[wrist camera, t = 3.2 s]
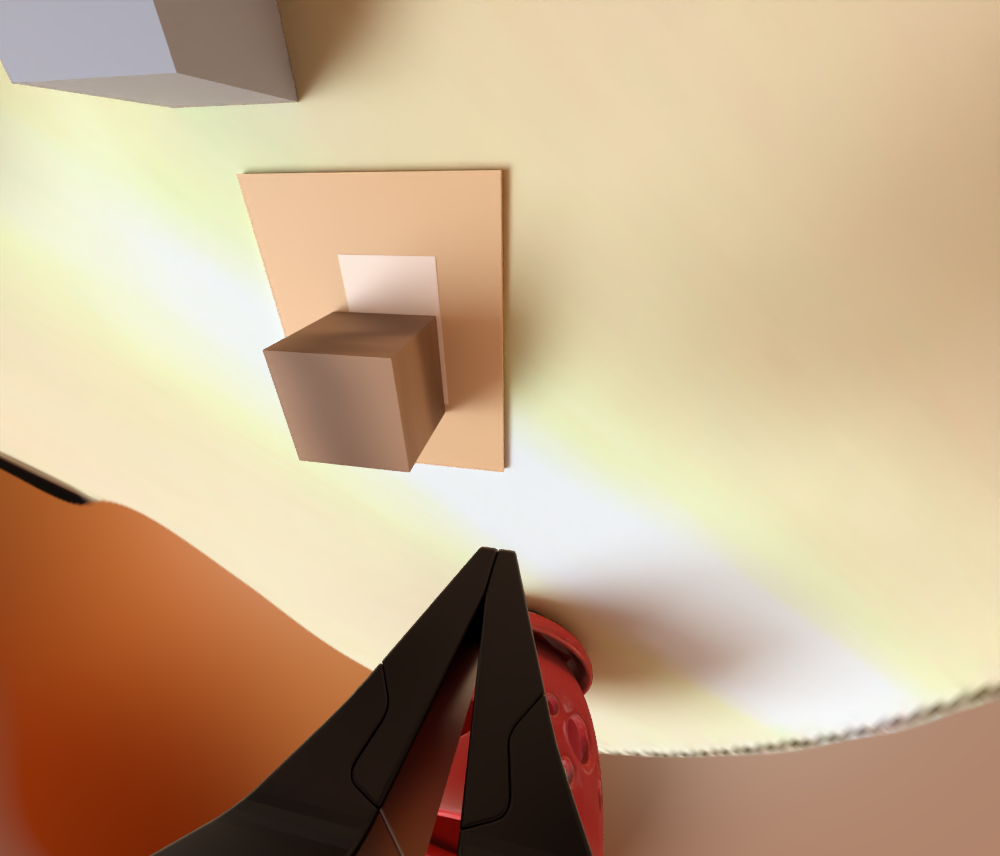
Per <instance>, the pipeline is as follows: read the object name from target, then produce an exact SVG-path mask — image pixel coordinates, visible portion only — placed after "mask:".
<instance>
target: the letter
mask: <svg viewBox="0 0 1000 856" xmlns="http://www.w3.org/2000/svg"><path fill="white" fill-rule="evenodd" d="M237 177H238V180H239V184H240V187H241V191H242V194H243V197H244V201H245V204H246V207H247V211H248V214H249V217H250V221H251V224H252V227H253V231H254V234H255V237H256V241H257V244H258V247H259V251H260V254H261V257H262V261H263V264H264V267H265V271H266V274H267V277H268V281H269V284H270V287H271V291H272V294H273V297H274V301H275V304H276V307H277V311H278V314H279V317H280V321H281V324H282V327H283V331H284V334H285V337H288V336H290V335H291V334H293V333H295V332H297V331H299V330H301V329H302V328H304V327H306V326H308V325H310V324H312V323H313V322H315V321H317V320H319V319H321V318H323V317H324V316H326V315H328V314H330V313H332V312H334V311H336V312H358V313H381V314H403V315H426V316H436V321H437V332H438V342H439V353H440V363H441V374H442V384H443V395H444V405H445V414H444V416H443V417H442V419H441V421H440V422H439V424H438V426H437V427H436V429H435V431H434V432H433V434H432V436H431V437H430V439H429V441H428V442H427V444H426V446H425V447H424V449H423V451H422V452H421V454H420V456H419V457H418V459H417V461H416V462H415V463H421V464H430V465H440V466H449V467H459V468H468V469H478V470H487V471H497V472H504V363H503V231H502V170H470V171H403V172H336V173H269V174H237Z"/></svg>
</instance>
